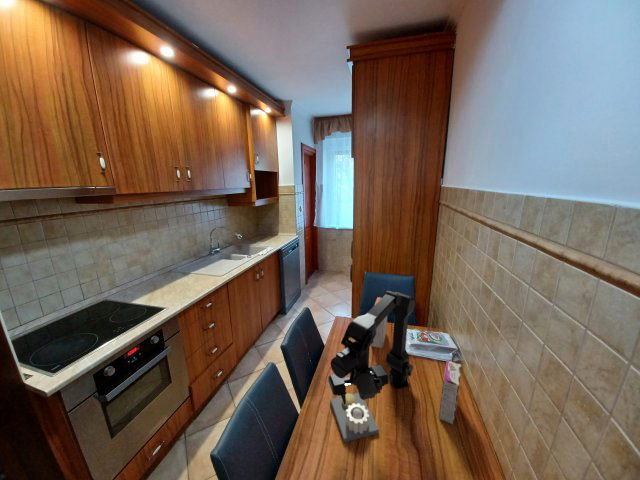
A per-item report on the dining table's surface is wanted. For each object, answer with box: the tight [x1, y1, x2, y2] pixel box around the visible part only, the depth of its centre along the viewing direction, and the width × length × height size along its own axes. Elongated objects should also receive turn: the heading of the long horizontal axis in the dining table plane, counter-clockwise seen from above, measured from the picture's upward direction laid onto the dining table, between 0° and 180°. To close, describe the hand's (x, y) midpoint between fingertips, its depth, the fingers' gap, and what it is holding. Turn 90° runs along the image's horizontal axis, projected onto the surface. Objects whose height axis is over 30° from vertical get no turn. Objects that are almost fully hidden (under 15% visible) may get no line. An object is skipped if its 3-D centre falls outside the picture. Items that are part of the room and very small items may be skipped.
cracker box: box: [370, 296, 388, 350], centre depth 126 cm, size 14×6×21 cm, turn 157°
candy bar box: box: [438, 359, 462, 426], centre depth 87 cm, size 11×5×16 cm, turn 148°
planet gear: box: [346, 403, 369, 434], centre depth 82 cm, size 8×8×4 cm
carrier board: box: [330, 392, 380, 443], centre depth 86 cm, size 12×15×6 cm
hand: (357, 400), depth 81 cm, fingers open, 9 cm apart
